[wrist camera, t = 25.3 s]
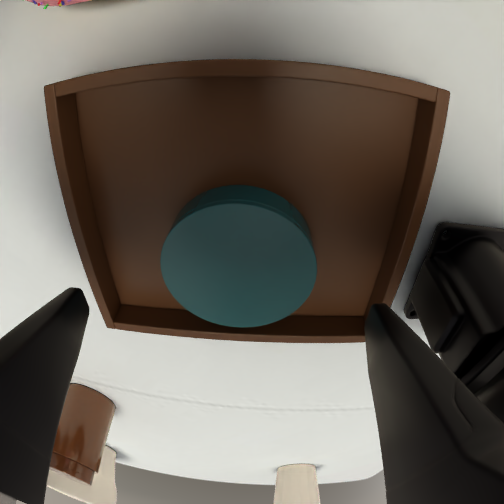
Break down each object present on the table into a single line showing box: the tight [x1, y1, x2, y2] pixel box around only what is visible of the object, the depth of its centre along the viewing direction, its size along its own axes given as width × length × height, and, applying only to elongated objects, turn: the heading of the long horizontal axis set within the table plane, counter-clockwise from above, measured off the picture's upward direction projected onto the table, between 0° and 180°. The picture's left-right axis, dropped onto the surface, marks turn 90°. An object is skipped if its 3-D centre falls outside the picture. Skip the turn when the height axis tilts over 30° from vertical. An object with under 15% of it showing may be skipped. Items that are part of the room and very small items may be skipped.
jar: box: [49, 384, 116, 486], centre depth 23 cm, size 6×6×10 cm
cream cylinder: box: [273, 464, 321, 504], centre depth 35 cm, size 7×7×7 cm
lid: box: [160, 185, 317, 328], centre depth 14 cm, size 7×7×2 cm
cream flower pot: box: [46, 445, 117, 504], centre depth 35 cm, size 12×12×11 cm
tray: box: [44, 59, 450, 343], centre depth 13 cm, size 15×13×2 cm
